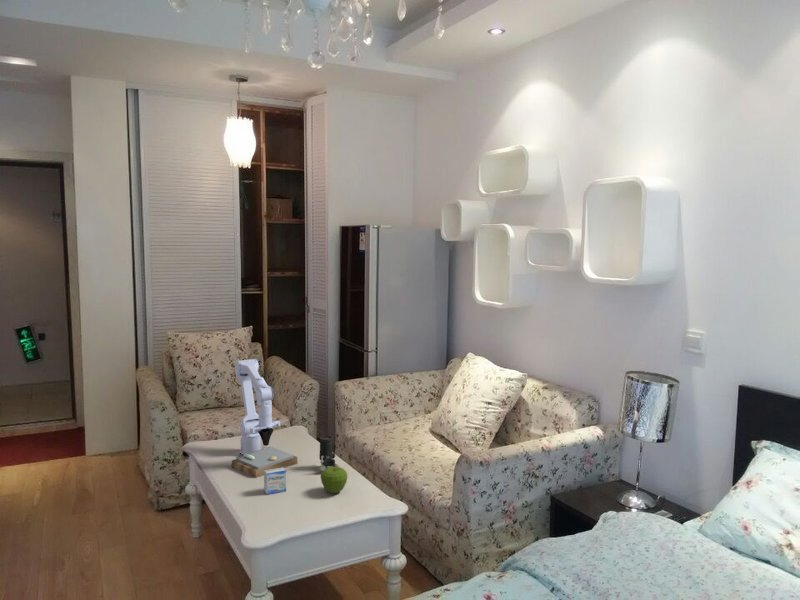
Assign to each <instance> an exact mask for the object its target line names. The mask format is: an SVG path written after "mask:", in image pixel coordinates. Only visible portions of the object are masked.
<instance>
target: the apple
mask: <svg viewBox="0 0 800 600" xmlns="http://www.w3.org/2000/svg"><path fill="white" fill-rule="evenodd" d="M348 478H349V477H348V472H347V470H346V469H344V468H343V467H340V466H338V467H328V468H327V469H325V470H323V472H322V471H321V474H320V480H321V484H322V486H323V488H324V490H325V491H326V492H328V493H330V494H339V493H340V492H341V491H343V489H345V486H346V484H347V481H348ZM338 492H339V493H338Z"/></svg>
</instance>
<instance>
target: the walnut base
mask: <svg viewBox="0 0 800 600" xmlns="http://www.w3.org/2000/svg"><path fill="white" fill-rule="evenodd" d="M297 464H298V456H295V455H294V458H291V459H288V460H285V461H282V462H279V463H276V464H273V465H270V466H267V467H264V468H261V469H256V468H254V467H251V466H249V465H247V464H244V463H242V462H240V461H237V460H236V458H235V459H232V460H231V468H232V469H235V470H237V469H238V470H237V471H239V470H240V472H241V473H244V472H245V473H244V474H246V473H247V475H249V476H250V477H253V478H259V477H262V476H263V477H264V470H270V469H276V468H281V467H283V468H284V469H286V468H288V466H289V467H292V466H293V465H297ZM285 467H286V468H285Z"/></svg>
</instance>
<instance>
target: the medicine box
mask: <svg viewBox="0 0 800 600" xmlns="http://www.w3.org/2000/svg"><path fill="white" fill-rule="evenodd" d="M263 482H264V483H263V488H264V489H263V491H264V492H265V493H266V495H273V494H278V493H283V491H284V492H287V469H286V468H283V467H281V468H276V469H270V470H264V475H263Z"/></svg>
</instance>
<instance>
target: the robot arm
mask: <svg viewBox="0 0 800 600" xmlns="http://www.w3.org/2000/svg"><path fill="white" fill-rule="evenodd" d="M259 367H260V366H259V361H258V360H257V358H252V359H251V358H249V359H243V360H242V359H241V360H236V361H235V363H234V371H235V372H234V374H235V377H236V379H237V380H239V381H240V387H241V392H242V399H243V407H244V412H245V415H244V416H242V418H241V419H240V422H239V423H240V427H239V428H240V429H239V430H240V433H241V437H240V451H239V454H240V453H241V454H240V455H244V454H245V453H247V454H248V453H252V452H255V451H258V450H261V449H262V446H261V443H262V445H263V446H265V447H268V446H269V445H270V440H271V437H272V435H273V432H274V428H275V427H280V426H281V421H280V420H275V421H273V409H272V408H273V407H272V406H273V405H272V401H273V399H274V397H275V395H274V389H273V387H272V386H270V385H268V384H267V382H266V381H265V379H264V377H263V376H260V373H259ZM253 389H254V390H253ZM253 391H255V397H256V405H257V407H258V408H257V409H258V411H256V405H255V398H254V392H253ZM261 441H262V442H261Z"/></svg>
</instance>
